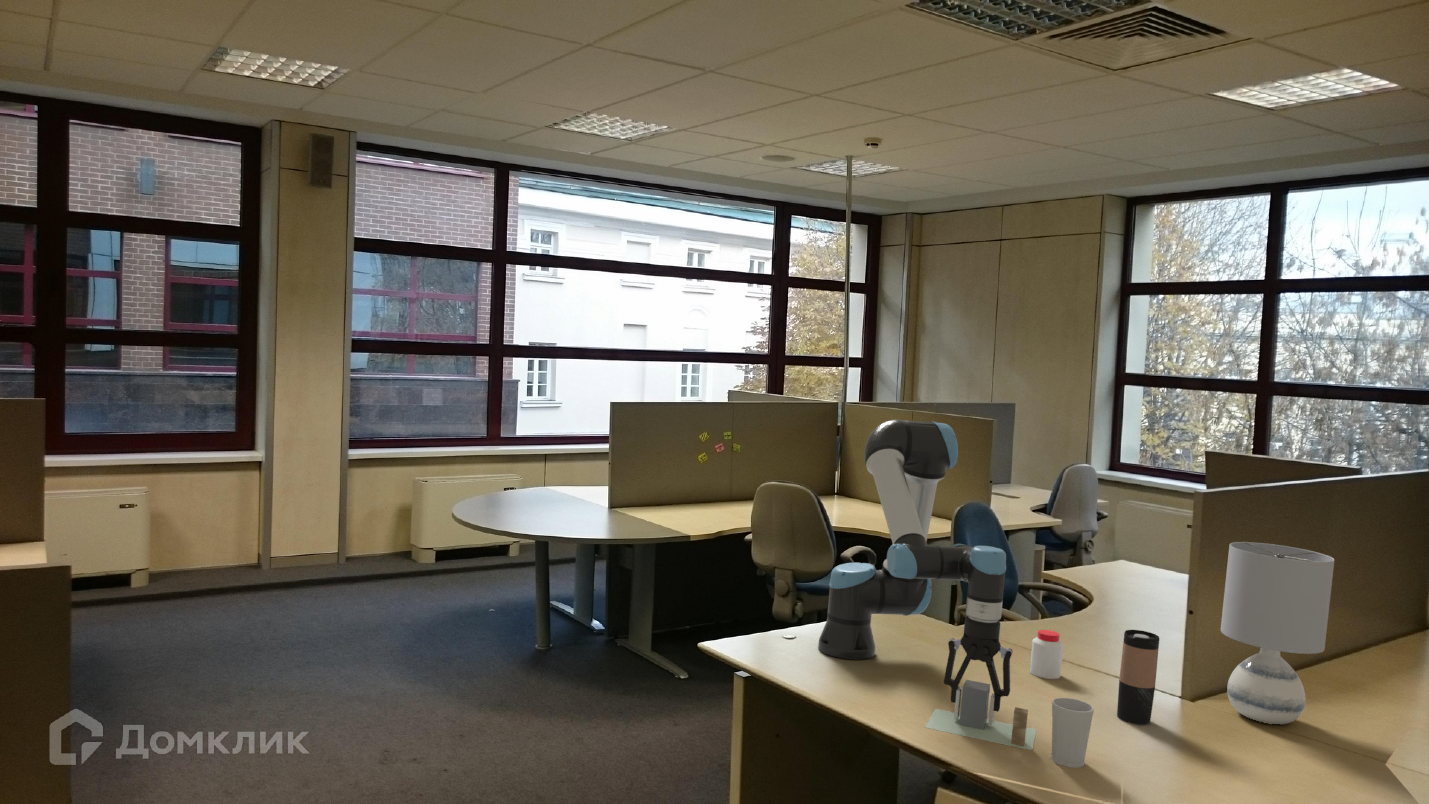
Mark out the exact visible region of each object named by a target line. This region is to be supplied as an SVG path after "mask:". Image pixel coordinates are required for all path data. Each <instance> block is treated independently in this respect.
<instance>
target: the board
mask: <svg viewBox="0 0 1429 804" xmlns="http://www.w3.org/2000/svg"><path fill="white" fill-rule="evenodd" d="M954 713H955V711H953V712H952V711H948V710H944V709H939V708H935V709H934V711H933V713H932V714H931V716H930V718H929V720H928V722H927V724H926V725H925V727H924V728H925V729H930V730H934V731H939V732H942V733H943V732H944V733H949V734H953V735H957V736H962V737H967V738H972V739H976V740H981V741H985V742H991V743H994V744H995V743H996V744H1000V745H1005V746H1010V747H1014V748H1018V749H1022V750H1029V751H1033V749H1034V743H1035V739H1036V734H1037V728H1031V727H1026V737H1025V744H1024V746H1020V745H1015V744H1011V739H1012V728H1013V723H1006V722H1001V721H999V720H998V721H997V720H993V725H992V727H989V726H988V722H989V718H987V723H986V725H985V728H984V730H981V729H976V728H971V727H967V726H962V725H959V723H960V713H959V717H958V720H956V719H954Z"/></svg>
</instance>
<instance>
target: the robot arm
mask: <svg viewBox="0 0 1429 804" xmlns="http://www.w3.org/2000/svg"><path fill="white" fill-rule="evenodd" d="M958 444H959V443H958V440H957V435H956V433H955V431H954V429H953V427H952V426H951V425H949V424H947V423H944V422H936V421H924V420H923V421H922V420H905V419H904V420H902V419H891V420H886V421H884V422H882V423H880V424H879V425H877V426H876V427H875V428H874V429H873V430H872V431H871V432H870V434H869V435H868V438H867V439H866V442H865V446H864V451H863V454H864V455H863V460H864V463H865V467H866V470H867V472H868V473H869V474H870V475H872V476H873V480H874V483H875V487H876V490H877V493H878V497H879V501H880V505H881V507H882V511H883V515H884V518H885V521H886V525H887V528H888V532H889V535H890V538H891V543H892V544H891V545H890V547H888V550H887V553H886V559H884V561H883V563H882V568H881V569H879V570H878V569H876V567H875V565H874V564H871V563H867V562H862V563H861V562H847V563H842V564H839V565H837V566H835V567H834V568H833V569H832V571H831V574H830V580H829V584H828V586H829V593H828V604H827V605H828V606H827V615H826V616H827V617H826V622H825V624H824V627H823V629H822V631H821V634H820V636H819V638H818V647H817V648H818V650H819V652H821V653H823V654H825V655H828V656H829V657H834V658H838V659H843V660H856V661H857V660H858V661H859V660H868V659H871V658H873V657H875V655H876V643H875V640H874V635H873V630H872V626H871V623H872V616H873V615H894V616H895V615H896V616H898V615H899V616H903V617H904V616H910V615H911V616H914V615H916V616H917V615H920V614H921V613H922V614H923V612H925V610H926V609H927V608H928V606H929V605H930V602H931V598H932V591H933V590H932V586H933V585H932V584H933V583H932V580H940V581H941V580H943V581H944V580H947V581H963V582H965V583H966V584H967V594H966V602H965V603H966V604H965V605H966V606H965V614H966V616H965V617H964V624H963V625H964V626H963V634H962V637H961V638H960V639H957V638H956V639H954V638H950V639H949V641H948V643H947V645H948V657H947V663H946V667H945V673H944V677H943V678H944V679H943V684H944V685H946V686H949V688H951V691H950V702H951V703H953V704H954V719H956V720H958V717H959V714H960V712H961V701H962V690H963V686H959V685H960V682H961V680H962V678H963V677H964V674H965V672H966V670H967V669H968V666H969V664H970V662H971V660H972V661H980V662H982V663H985V665H986V668H987V671H988V676H989V679H990V682H991V686H992V691H993V693H991V696H990V700H989V701H990V702H989V703H990V704H989V710H988V711H989V713H988V714H989V715H988V720H989V722H988V726H989V727H992V725H993V721H994V717H995V712H999V711H1000V708H1001V700H1002V699H1001V698H1002V697H1008V696H1010V693H1011V658H1012V655H1013V649H1012V648H1007V647H1004V646H1001V642H1000V632H1001V622H1000V620H1002V619H1001V618H1002V612H1003V611H1002V610H1003V602H1004V601H1003V599H1004V591H1005V590H1004V588H1005V582H1006V581H1005V580H1006V572H1007V563H1006V562H1007V554H1006V552H1005V551H1004V549H1002V548H998V547H996V546H989V545H975V546H973V547H972V546H971V545H968V544H962V543H955V544H953V545H950V546H947V545H943V546H942V545H929V544H928V542H927V541H928V535H929V529H930V525H931V519H932V516H933V515H932V514H933V508H934V502H935V498H936V493H937V486H938V483H939V482H940V481H942V480H944V478H946V471H947V470H950V469H953V468H955V465H956V464H957V462H958V458H959V446H958ZM960 646H962V648H963V650H964V652H965V654H966V655H965V657H964V659H963V661H962V663H961V664H960V665H961V666H960V667H959V669H958V672H957V674H956V676H955V677H954V679H952V676H953V671H954V665H955V660H956V655H957V650H959V648H960ZM999 653H1000V657H1001V659H1003V660H1002V676H1003V677H1002V678H1003V679H1002V680H1003V681H1002V685H1003V686H1002V688H1001V686H1000V685H1001V684H1000V681H999V677H998V673H997V669H996V666H995V661H994V657H995V656H996V655H997V654H999Z"/></svg>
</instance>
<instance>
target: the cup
mask: <svg viewBox="0 0 1429 804" xmlns="http://www.w3.org/2000/svg"><path fill="white" fill-rule="evenodd" d="M1094 710H1095V707H1094V706H1093V705H1092V704H1091V703H1088V702H1087V701H1083V700H1080V699H1077V698H1071V697H1055V698H1053V699H1052V700H1051V721H1052V722H1051V723H1052V724H1051V725H1052V726H1051V757H1050V760H1052V761H1053V762H1054V763H1055V764H1058V765H1060V766H1063V767H1067V768H1082V767H1084V766H1085V758H1086V754H1087V748H1088V743H1089V738H1090V732H1091V731H1090V730H1091V726H1092V720H1093V716H1094V713H1095V712H1094Z"/></svg>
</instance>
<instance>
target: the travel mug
mask: <svg viewBox="0 0 1429 804" xmlns="http://www.w3.org/2000/svg"><path fill="white" fill-rule="evenodd" d="M1123 634H1124V635H1123V641H1122V651H1121V652H1122V654H1121V661H1120V669H1119V677H1118V678H1119V680H1118V681H1119V682H1118V695H1117V697H1118V698H1117V709H1116V710H1117V711H1116V717H1117V718H1118V719H1119V720H1121V721H1123V722H1126V723H1129V724H1133V725H1139V726H1146V725H1149V724H1150V723H1151V719H1152V712H1153V704H1154V696H1155V688H1156V682H1157V671H1158V670H1157V668H1158V657H1159V646H1160V636H1159V635H1157V634H1156V633H1154V632H1150V631H1145V630H1140V629H1127V630H1125V631H1124V632H1123Z"/></svg>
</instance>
